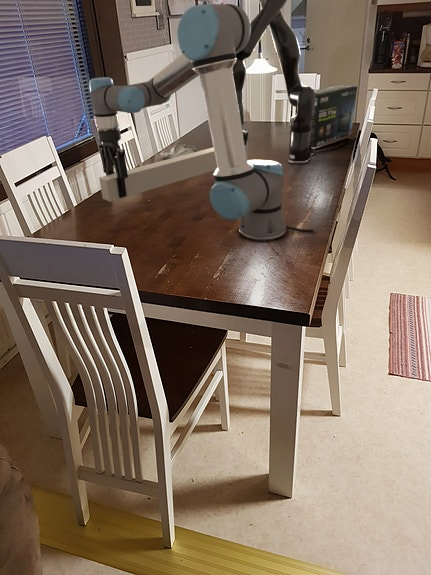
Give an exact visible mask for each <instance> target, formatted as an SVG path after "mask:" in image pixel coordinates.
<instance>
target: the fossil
mask: <svg viewBox="0 0 431 575" xmlns="http://www.w3.org/2000/svg"><path fill="white" fill-rule="evenodd" d="M198 151H199V150H198V148H197V146H195V145H188V146H187V145H186V143H184V142H183V143H181V142H176V143H175V145H174V146H173V147H172V148H171V149H170V150H168V149H165V150H162V151H161V152H160V156H161V158H162V159H163V160H167V159H171V158H175V157H179V156H182V155H186V154H190V153H194V152H198Z"/></svg>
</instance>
